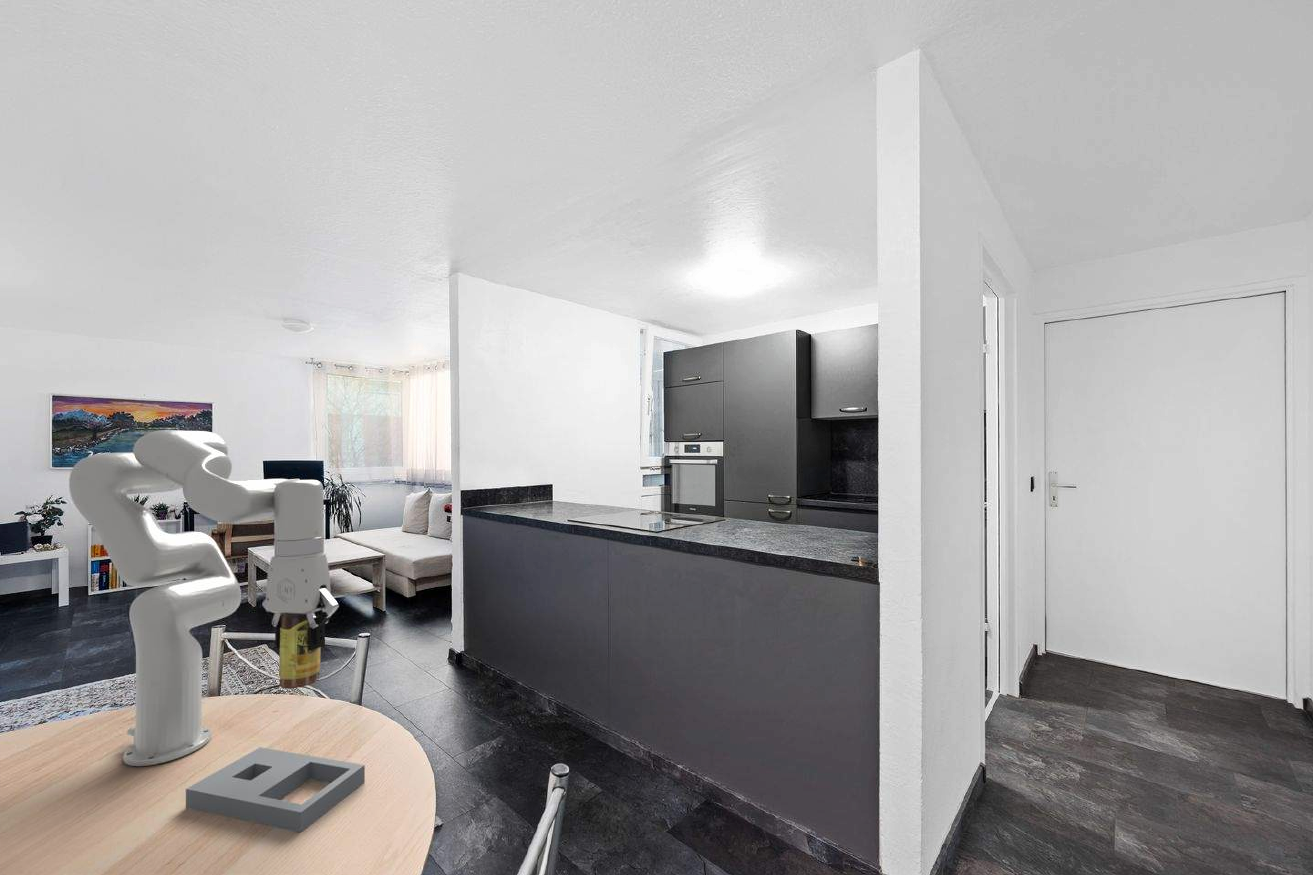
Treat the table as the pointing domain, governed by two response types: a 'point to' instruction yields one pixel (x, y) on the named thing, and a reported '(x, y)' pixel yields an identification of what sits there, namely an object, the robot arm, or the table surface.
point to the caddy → (274, 788)
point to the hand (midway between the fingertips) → (300, 645)
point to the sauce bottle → (297, 653)
